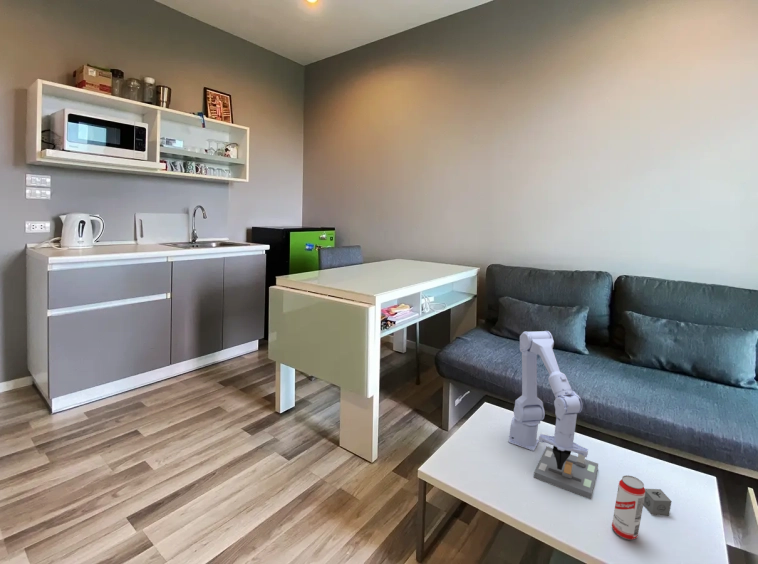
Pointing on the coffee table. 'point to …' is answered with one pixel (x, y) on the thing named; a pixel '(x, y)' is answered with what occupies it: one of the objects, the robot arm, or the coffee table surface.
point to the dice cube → (657, 502)
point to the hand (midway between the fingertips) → (559, 467)
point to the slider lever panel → (577, 484)
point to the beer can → (628, 507)
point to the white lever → (581, 461)
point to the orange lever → (567, 470)
